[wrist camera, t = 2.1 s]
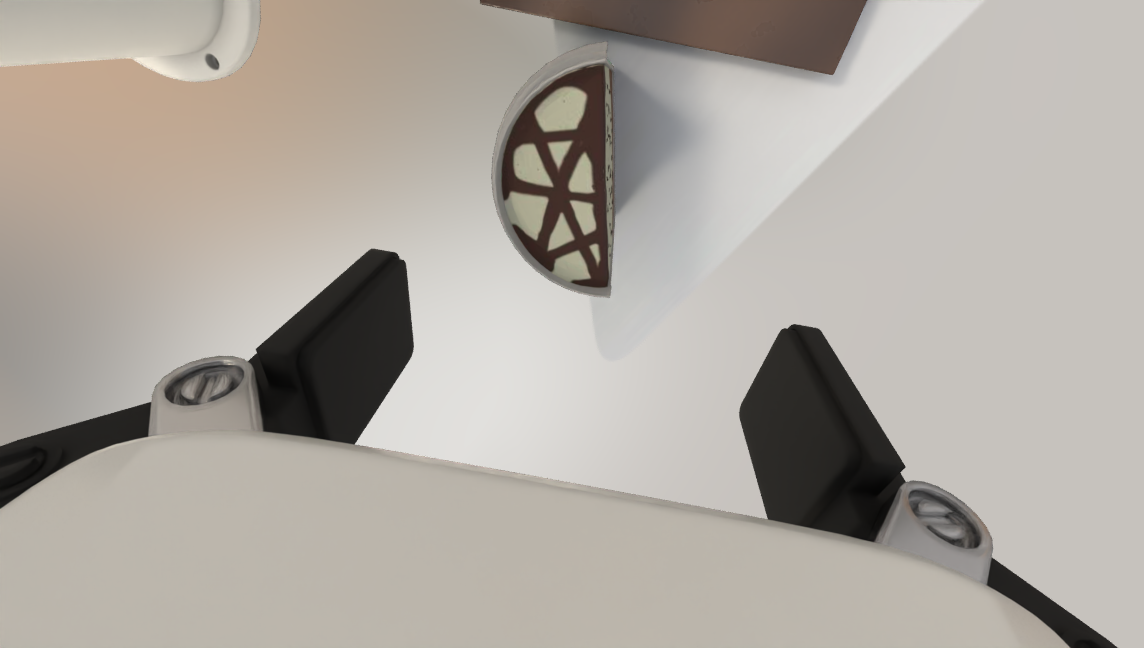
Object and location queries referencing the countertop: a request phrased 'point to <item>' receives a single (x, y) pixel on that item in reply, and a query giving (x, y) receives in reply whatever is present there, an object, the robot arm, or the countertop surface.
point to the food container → (561, 171)
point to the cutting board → (720, 25)
